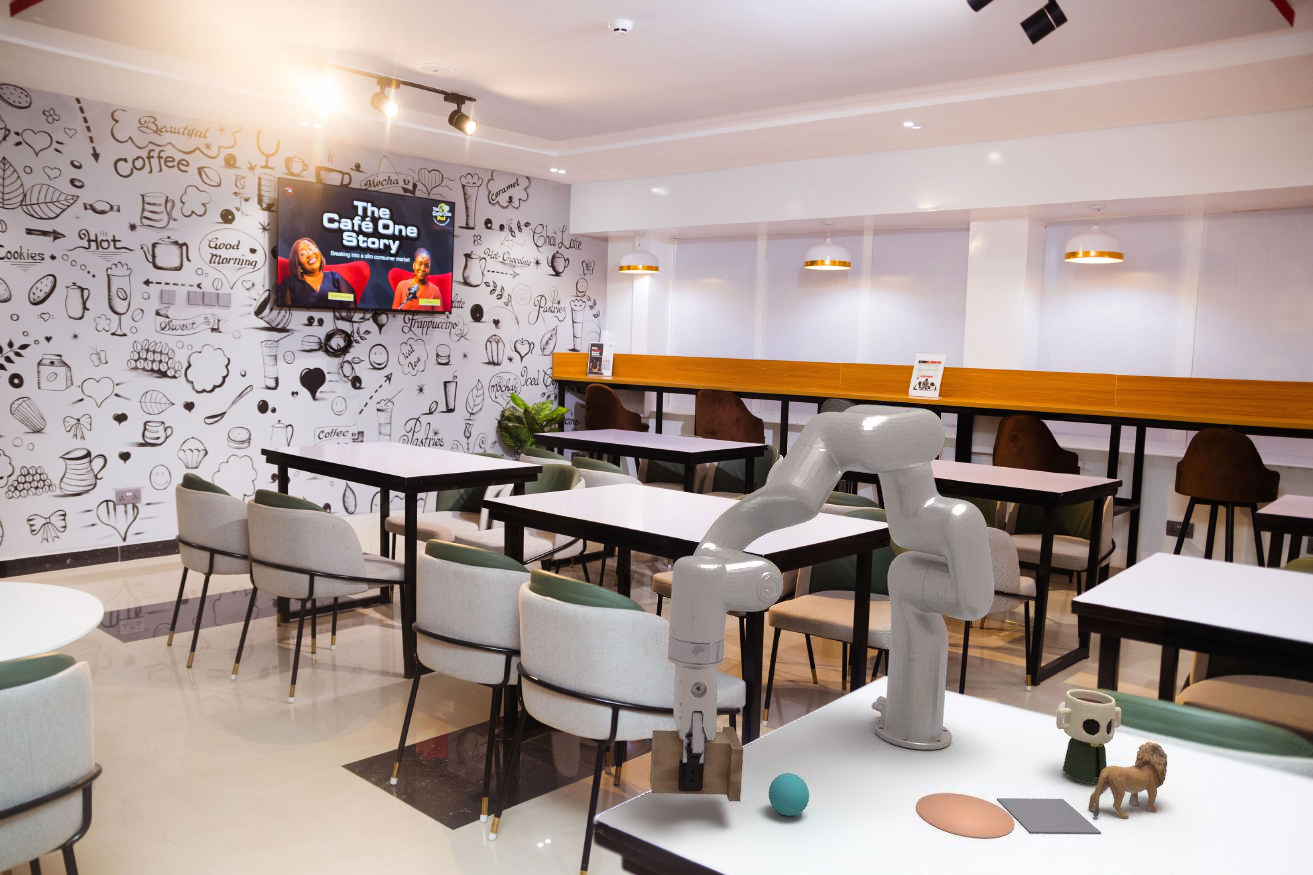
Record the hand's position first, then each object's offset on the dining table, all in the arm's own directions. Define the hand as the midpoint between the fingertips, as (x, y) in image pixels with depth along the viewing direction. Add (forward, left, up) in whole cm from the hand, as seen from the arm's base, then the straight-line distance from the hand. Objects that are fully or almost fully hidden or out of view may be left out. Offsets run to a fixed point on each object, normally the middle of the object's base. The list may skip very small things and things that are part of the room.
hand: (688, 781), depth 125 cm
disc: (+17, +35, -4) cm, 39 cm away
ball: (+6, +13, -2) cm, 14 cm away
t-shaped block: (0, 0, -1) cm, 1 cm away
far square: (+23, +46, -4) cm, 51 cm away
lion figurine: (+26, +59, -5) cm, 65 cm away
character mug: (+17, +63, -5) cm, 65 cm away
